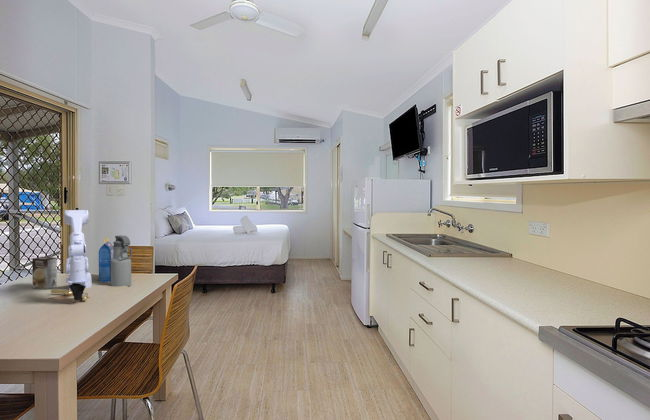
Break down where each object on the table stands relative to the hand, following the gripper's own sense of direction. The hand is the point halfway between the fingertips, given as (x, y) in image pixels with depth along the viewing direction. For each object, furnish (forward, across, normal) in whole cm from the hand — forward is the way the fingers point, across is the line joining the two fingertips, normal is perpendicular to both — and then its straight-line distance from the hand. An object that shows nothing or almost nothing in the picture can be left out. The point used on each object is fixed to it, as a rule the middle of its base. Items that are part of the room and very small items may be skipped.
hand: (78, 299), depth 159 cm
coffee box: (+3, -47, +10) cm, 48 cm away
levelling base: (+2, -10, +2) cm, 11 cm away
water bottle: (+3, -13, +30) cm, 33 cm away
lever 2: (+1, -2, +4) cm, 4 cm away
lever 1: (+1, -19, +4) cm, 19 cm away
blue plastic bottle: (+3, -35, +36) cm, 50 cm away
